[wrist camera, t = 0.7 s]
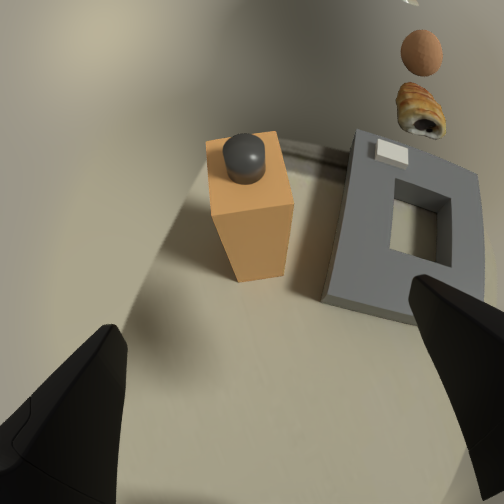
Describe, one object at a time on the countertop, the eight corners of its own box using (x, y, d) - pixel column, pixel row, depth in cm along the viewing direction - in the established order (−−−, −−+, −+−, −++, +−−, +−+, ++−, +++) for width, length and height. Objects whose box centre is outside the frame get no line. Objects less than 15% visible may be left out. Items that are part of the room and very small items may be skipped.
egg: (430, 91, 31) (448, 49, 23) (391, 70, 33) (404, 26, 25) (435, 75, 33) (451, 37, 25) (400, 56, 34) (412, 17, 26)
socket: (461, 335, 20) (486, 330, 17) (320, 302, 22) (329, 291, 19) (464, 188, 25) (480, 170, 22) (350, 148, 27) (358, 123, 24)
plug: (283, 275, 23) (296, 184, 11) (238, 282, 23) (204, 198, 11) (274, 226, 25) (275, 110, 13) (232, 232, 25) (200, 121, 13)
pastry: (388, 86, 31) (395, 65, 28) (431, 100, 31) (440, 81, 27) (396, 132, 28) (406, 109, 25) (444, 147, 28) (457, 127, 24)
